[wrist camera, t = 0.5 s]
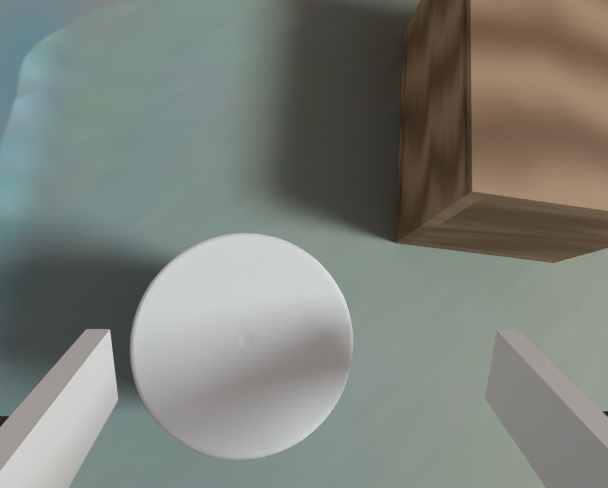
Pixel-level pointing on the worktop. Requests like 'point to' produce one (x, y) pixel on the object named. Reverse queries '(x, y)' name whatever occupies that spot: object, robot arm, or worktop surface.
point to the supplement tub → (241, 346)
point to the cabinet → (505, 128)
